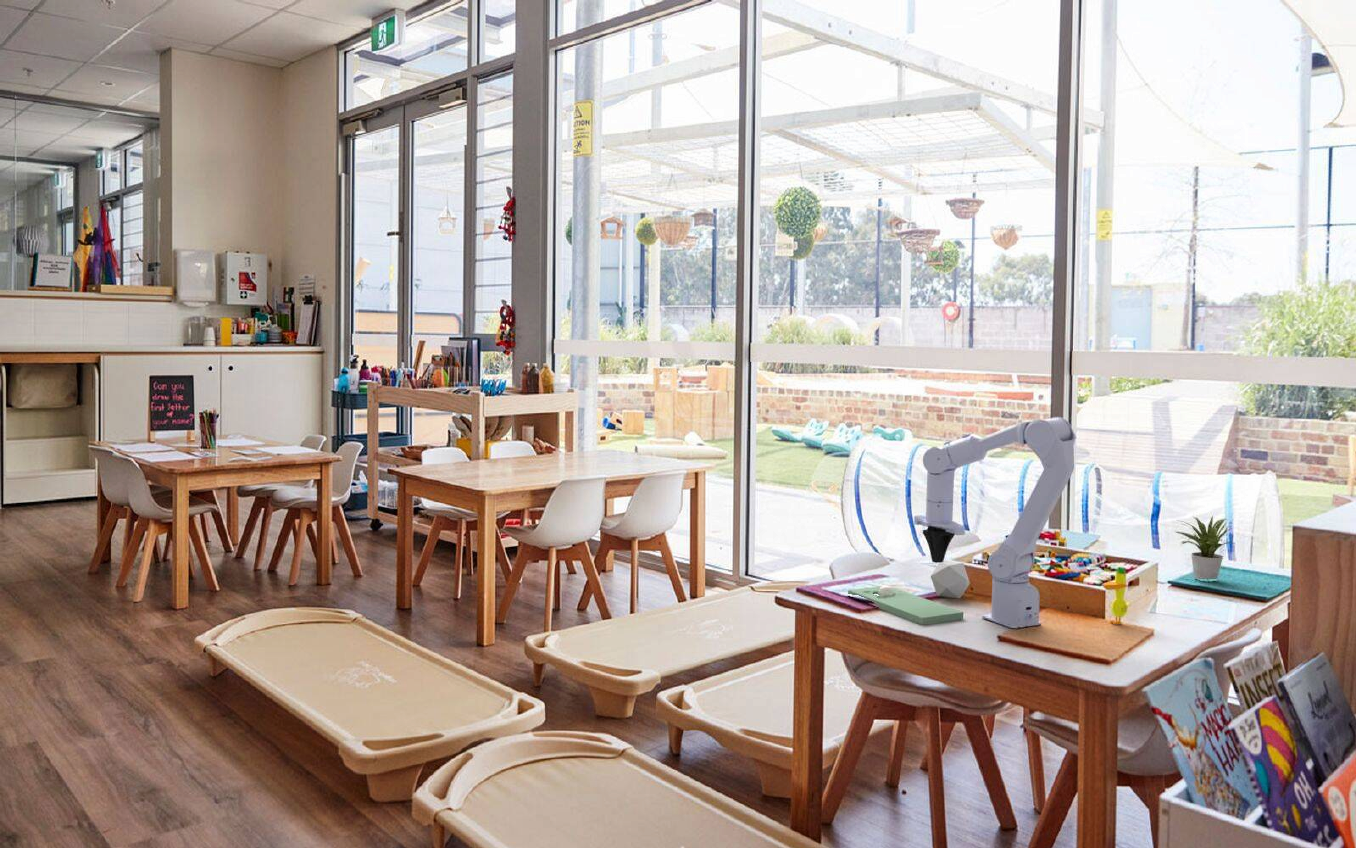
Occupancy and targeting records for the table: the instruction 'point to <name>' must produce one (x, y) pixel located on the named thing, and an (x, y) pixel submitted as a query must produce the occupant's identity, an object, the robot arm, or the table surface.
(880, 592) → the ball
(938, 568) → the die
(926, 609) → the green
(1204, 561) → the house plant
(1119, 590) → the toy figure
